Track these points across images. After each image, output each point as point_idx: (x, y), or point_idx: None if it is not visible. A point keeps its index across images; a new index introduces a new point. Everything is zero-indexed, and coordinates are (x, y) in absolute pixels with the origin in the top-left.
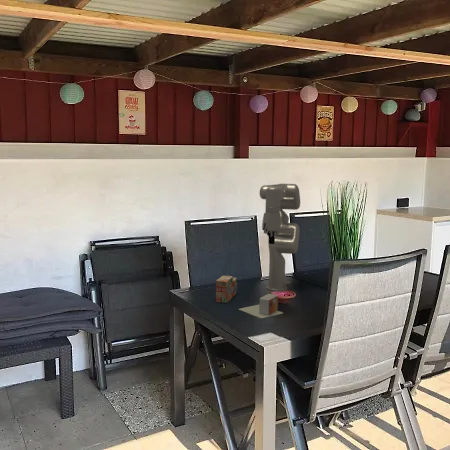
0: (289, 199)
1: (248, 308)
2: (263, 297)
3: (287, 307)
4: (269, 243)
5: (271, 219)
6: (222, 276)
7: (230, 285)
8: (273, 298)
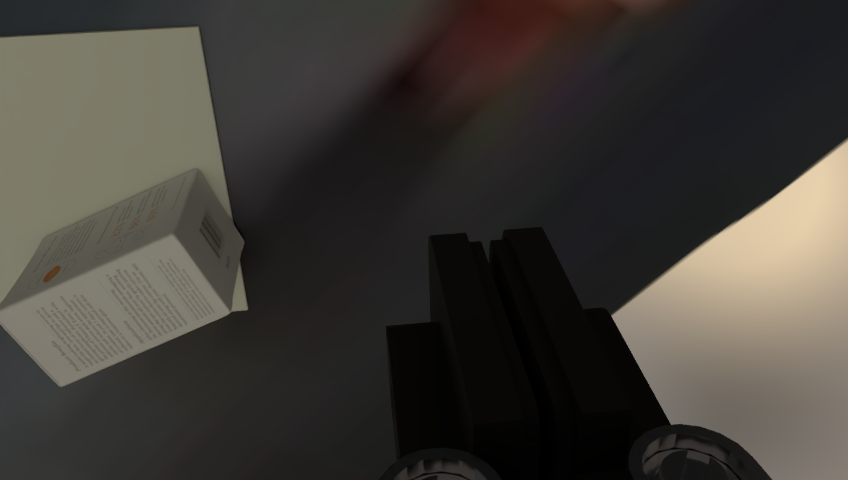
0: None
1: (11, 80)
2: (46, 310)
3: (381, 209)
4: (430, 281)
5: None
6: None
7: None
8: (142, 349)
